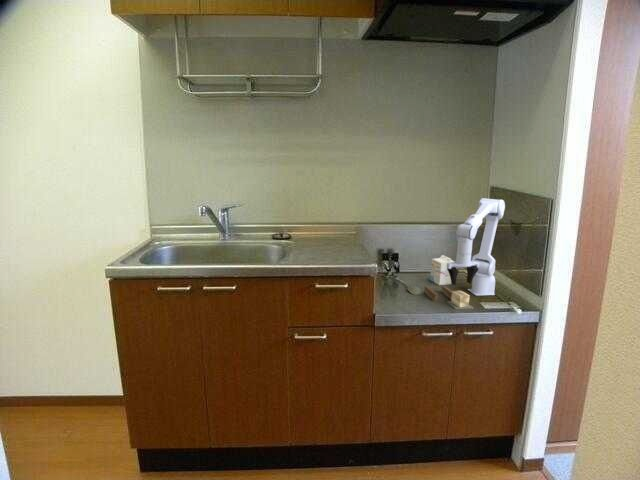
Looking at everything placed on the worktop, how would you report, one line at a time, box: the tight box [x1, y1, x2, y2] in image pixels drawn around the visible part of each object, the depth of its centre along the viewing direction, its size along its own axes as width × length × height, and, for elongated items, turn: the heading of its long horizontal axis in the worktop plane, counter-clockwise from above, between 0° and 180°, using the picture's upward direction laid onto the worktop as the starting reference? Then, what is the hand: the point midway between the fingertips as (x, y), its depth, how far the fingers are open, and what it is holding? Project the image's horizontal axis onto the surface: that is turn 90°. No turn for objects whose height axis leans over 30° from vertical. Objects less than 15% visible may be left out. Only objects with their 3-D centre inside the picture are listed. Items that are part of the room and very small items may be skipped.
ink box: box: [429, 254, 455, 286], centre depth 198 cm, size 9×8×13 cm
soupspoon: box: [395, 277, 423, 295], centre depth 192 cm, size 22×3×7 cm
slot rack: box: [423, 285, 453, 302], centre depth 179 cm, size 10×11×3 cm
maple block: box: [450, 290, 471, 307], centre depth 168 cm, size 4×6×5 cm
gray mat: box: [446, 300, 474, 310], centre depth 169 cm, size 8×8×1 cm
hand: (461, 283), depth 169 cm, fingers open, 7 cm apart
